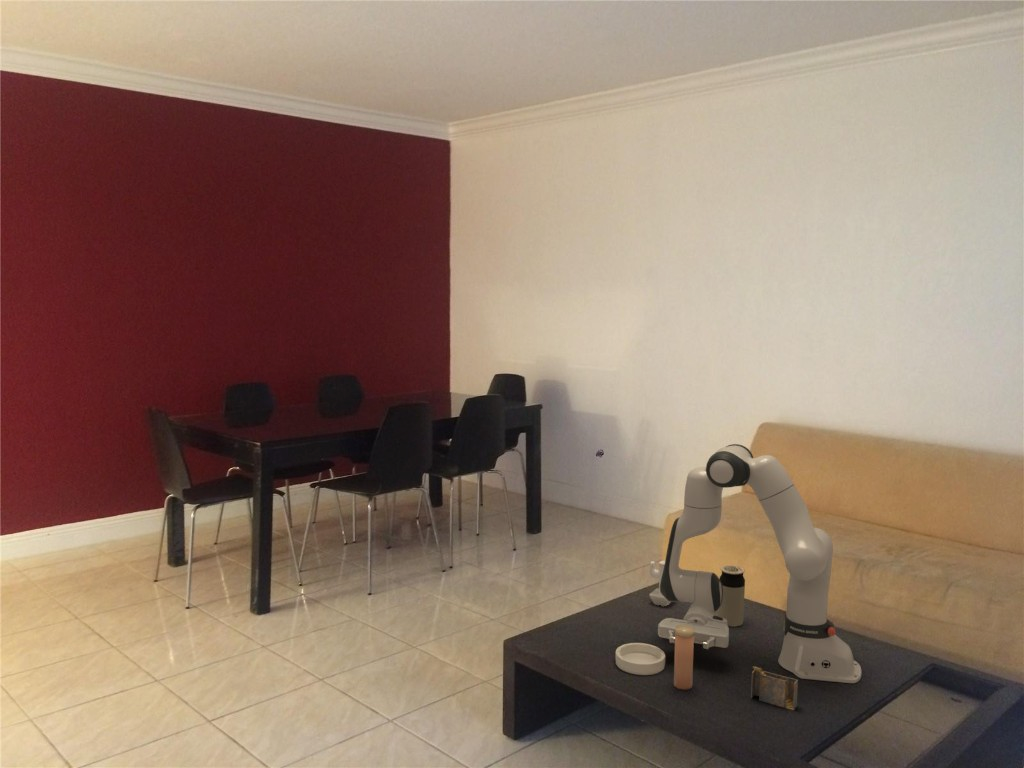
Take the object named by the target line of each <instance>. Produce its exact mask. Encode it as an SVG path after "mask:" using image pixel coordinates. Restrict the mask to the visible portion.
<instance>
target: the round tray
mask: <svg viewBox="0 0 1024 768" xmlns="http://www.w3.org/2000/svg"><path fill="white" fill-rule="evenodd" d="M615 665H616V667H617V668H619V669H620V670H621V671H623V672H626V673H628V674H630V675H631V674H632V675H637V676H652V675H655V674H658V673H661V672H662V671H663V670H665V667H666V666H665V665H666V654H665V652H664V650H662V649H661V648H659V647H658V646H655V645H653V644H649V643H643V642H630V643H629V642H628V643H625V644H621V646H618V647H617V648H616V650H615Z"/></svg>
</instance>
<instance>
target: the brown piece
mask: <svg viewBox="0 0 1024 768" xmlns="http://www.w3.org/2000/svg"><path fill="white" fill-rule="evenodd" d="M752 669H753V670H752V672H751V683H750V684H751V688H750V699H753V698H754V696H756V697H759V698H758V701H759V702H763V703H767V704H770V705H774V706H777V707H781V708H784V709H788V710H792V711H795V709H796V708H797V707H798V688H799V687H798V685H799V680H798V679H796V678H792V677H789V676H784V675H781V674H777V673H773V672H769V671H766V670H765V671H764V670H763V668H762V667H758V666H752Z"/></svg>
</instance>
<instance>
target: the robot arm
mask: <svg viewBox="0 0 1024 768" xmlns="http://www.w3.org/2000/svg"><path fill="white" fill-rule="evenodd" d="M746 485H748V486H749V487H750V488H751V489H752V491H753V492H754V495H755V496H756V498H757V500H758V502H759V504H760V505H761V507H762V509H763V511H764V513H765V515H766V517H767V518H768V520H769V523H770V525H771V527H772V529H773V532H774V535H775V537H776V540H777V544H778V545H779V548H780V551H781V553H782V557H783V558H784V563H785V568H786V570H787V571H788V573H789V579H788V584H787V589H786V591H787V593H786V595H787V596H786V611H785V612H786V613H785V615H784V618H783V635H784V636H783V643H782V647H781V651H780V654H779V657H778V659H777V660H778V661H777V662H778V664H779V665H780V666H781V667H782V668H783V669H785V670H787V671H788V672H791V673H792V674H794V675H795V676H796V677H797V678H799V679H802V680H803V679H804V680H814V681H823V682H825V681H826V682H835V683H836V682H837V683H846V684H856V683H858V682H859V681H860V680H861V678H862V668H861V665H860V664H859V663H858V662H857V661H856V660H854V655H853V652H852V650H851V647H850V646H849V644H848V643H846V642H844V641H843V639H841V638H840V637H839V636H838V635H836V628H835V624H834V621H833V620H831V621H830V620H829V619H828V608H829V607H828V606H829V605H828V604H829V603H828V600H829V590H830V582H831V574H832V565H833V563H832V562H833V551H834V548H833V547H834V546H833V541H832V538H831V537H830V535H829V533H827V532H826V531H825V530H823V529H822V528H818V527H814V524H813V522H812V519H811V517H810V513H809V509H808V506H807V505H806V503H805V501H804V499H803V497H802V495H801V494H800V491H798V488H797V486H796V485H795V483H794V481H793V480H792V478H791V476H790V474H789V472H787V470H786V469H785V467H784V466H783V465H782V463H781V462H780V461H779V460H778V458H777V457H775V456H773V455H770V454H764V455H760V456H757V457H754V456H753V453H752V451H751V450H750V449H749V448H748V447H746V446H744V445H743V444H739V443H738V444H737V443H734V444H729V445H726V446H724V447H722V448H720V449H718V450H717V451H716V452H714V454H712V455H711V456H710V457H709V458H708V460H707V462H706V466H700V467H696V468H693V469H691V470H690V471H689V472H688V474H687V476H686V482H685V488H684V498H683V499H684V501H683V511H682V513H681V515H680V517H677V518H675V519H674V521H673V524H672V526H671V531H670V534H669V538H668V544H667V549H666V554H665V560H664V561H665V565H664V570H663V574H662V576H661V580H660V592H661V594H662V595H663V596H664V597H665V598H666V599H667V600H668V601H671V602H677V603H678V602H686V603H691V605H690V606H689V608H688V609H687V611H686V614H684V617H683V619H680V618H679V619H678V618H673V617H665V618H664V619H662V620H661V621H660V622H659V623H658V624H657V635H658V636H659V638H663V639H668V640H669V643H670V644H675V627H676V626H678V625H688V626H691V627H693V628H694V644H700V645H702V649H705V650H709V649H710V648H712V647H717V648H722V649H726V648H728V647H729V644H730V643H729V641H730V629H729V626H728V624H727V620H726V619H724V618H721V617H718V612H719V607H720V606H721V604H722V598H723V587H722V582H721V581H720V577H719V576H718V574H716V573H714V572H712V571H703V570H692V569H691V570H690V569H683V568H681V567H680V565H679V564H680V560H681V559H680V558H681V554H682V553H681V552H682V548H683V544H684V542H686V541H687V540H688V539H689V540H690V539H691V538H695V537H698V536H699V537H700V536H701V535H706V534H707V533H710V532H711V531H713V530H715V529H716V528H717V527H718V526H719V523H720V522H721V518H722V511H723V510H722V506H723V504H722V501H723V500H722V499H723V498H722V497H723V496H722V494H723V490H724V488H725V489H726V488H734V487H743V486H746Z"/></svg>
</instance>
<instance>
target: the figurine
mask: <svg viewBox="0 0 1024 768" xmlns="http://www.w3.org/2000/svg"><path fill="white" fill-rule="evenodd" d="M664 565H665V560H661V561H659V563H658V567H659V569H656V562H655V561H654V560H653V561H650V563H649V575H650V577H652V578H654V579H655V578H656V579H658V580H659V581H658V588H655V589H654V590H653V591H652V592H650V593H649V598H650V599H651V601H652V603H653V605H654V604H655V605H654V606H659V605H661V606H660V607H664V606H667V605H668V606H669V605H670V604H671V603H672V601H668V600H667V599H666V598H665V597H664V596H663V595H662V594H661V592H660V580H661V576H662V574H663V570H664ZM668 606H667V607H668Z"/></svg>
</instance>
